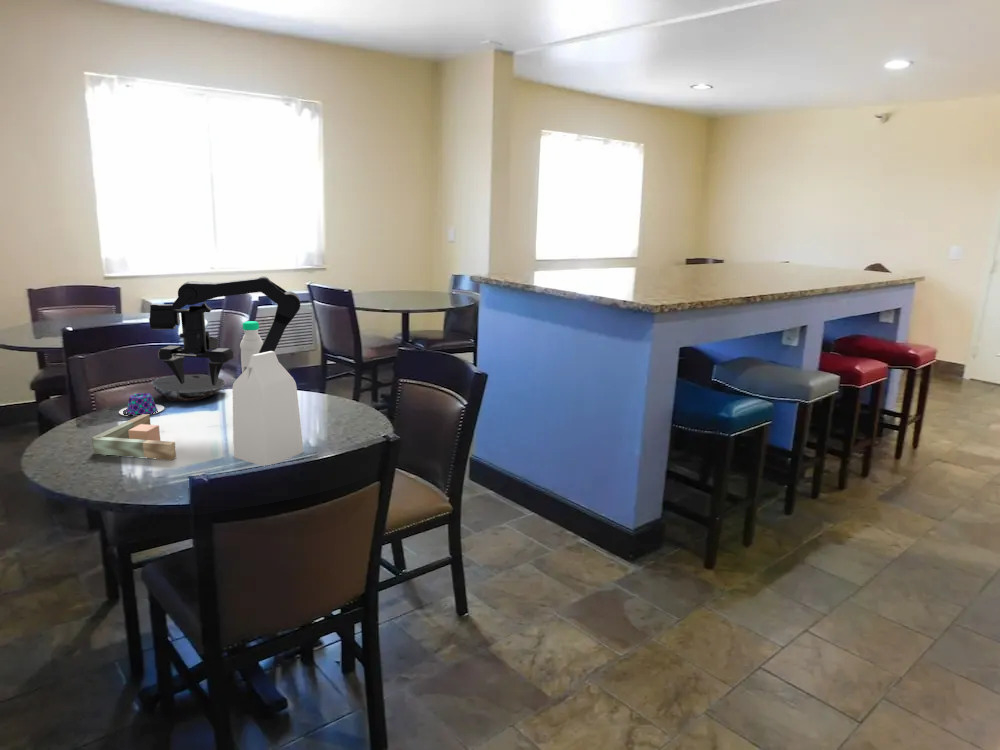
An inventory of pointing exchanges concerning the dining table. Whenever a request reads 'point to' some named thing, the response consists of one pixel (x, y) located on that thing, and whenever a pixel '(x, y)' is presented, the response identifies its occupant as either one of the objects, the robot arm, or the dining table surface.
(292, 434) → the milk
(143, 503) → the dining table surface
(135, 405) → the pudding
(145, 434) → the cube
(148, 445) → the arena
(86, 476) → the dining table surface
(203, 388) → the board
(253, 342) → the water bottle
